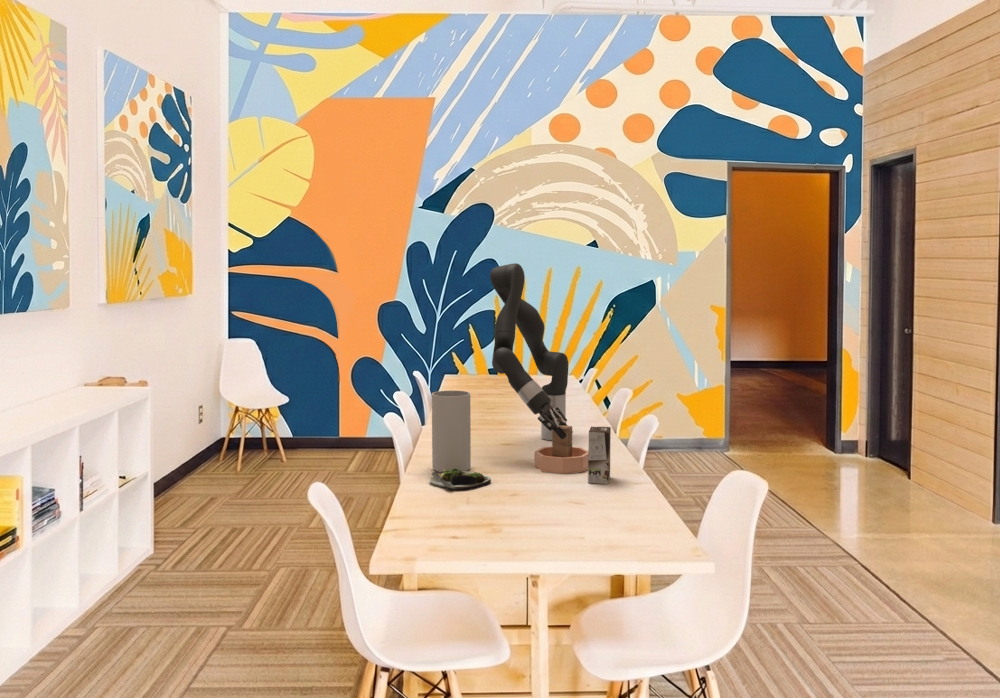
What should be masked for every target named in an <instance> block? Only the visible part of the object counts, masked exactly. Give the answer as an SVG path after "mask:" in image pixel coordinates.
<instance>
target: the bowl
mask: <svg viewBox="0 0 1000 698" xmlns="http://www.w3.org/2000/svg"><path fill="white" fill-rule="evenodd" d="M588 451H589V450H588V449H585V448H584V447H579V446H578V447H577V446H572V457H565V458H561V457H552V446H543V447H541V448H539V449H537V450H534V453H533V454H534V462H533V463H534V467H535V468H536V467H537V468H536V469H538V470H539V469H540V471H541V472H545V473H552V474H553V473H554V474H560V475H561V474H562V475H563V474H576V473H577V472H578V473H583V471H584V472H585V471H587V470H588ZM586 469H587V470H586Z"/></svg>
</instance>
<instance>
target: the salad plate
mask: <svg viewBox="0 0 1000 698" xmlns="http://www.w3.org/2000/svg"><path fill="white" fill-rule="evenodd" d="M431 476H432V477H431V478H429V483H431V484H433V485H434V486H436V487H439V488H442V489H446V490H449V491H456V492H457V491H459V492H461V491H463V492H465V491H470V490H476V489H479V488H483V487H486V486H488V485H489V483H491V481H492V480H491V477H490V476H489V475H486V474H483V473H480V472H476V471H475V472H472V471H469V470H467V471H460V470H459V469H455V468H453V469H451V470H447V471H446V470H445V469H444V473H441V474H438V472H437V471H433V472H432V473H431Z"/></svg>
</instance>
